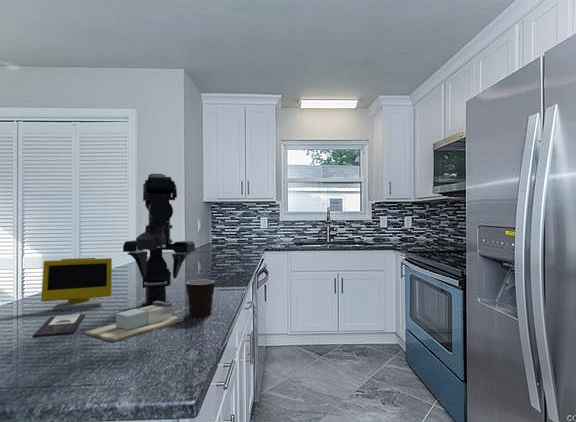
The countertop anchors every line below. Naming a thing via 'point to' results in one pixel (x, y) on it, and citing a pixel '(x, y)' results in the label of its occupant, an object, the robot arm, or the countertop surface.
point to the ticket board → (155, 319)
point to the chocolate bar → (60, 325)
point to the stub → (131, 319)
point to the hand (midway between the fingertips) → (159, 277)
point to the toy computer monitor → (76, 282)
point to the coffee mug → (200, 297)
